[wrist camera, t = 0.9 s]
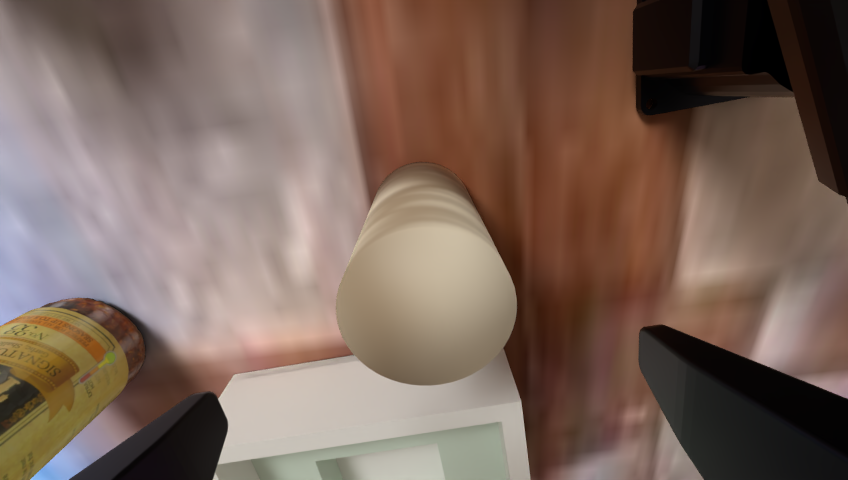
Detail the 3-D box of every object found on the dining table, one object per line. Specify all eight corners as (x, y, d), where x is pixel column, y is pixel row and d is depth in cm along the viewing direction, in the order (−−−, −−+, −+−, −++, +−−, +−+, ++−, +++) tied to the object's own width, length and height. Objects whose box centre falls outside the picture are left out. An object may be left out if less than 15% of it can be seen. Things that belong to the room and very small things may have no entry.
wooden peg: (463, 153, 19) (507, 211, 10) (476, 246, 21) (524, 371, 12) (363, 172, 19) (314, 245, 10) (385, 262, 21) (360, 397, 12)
